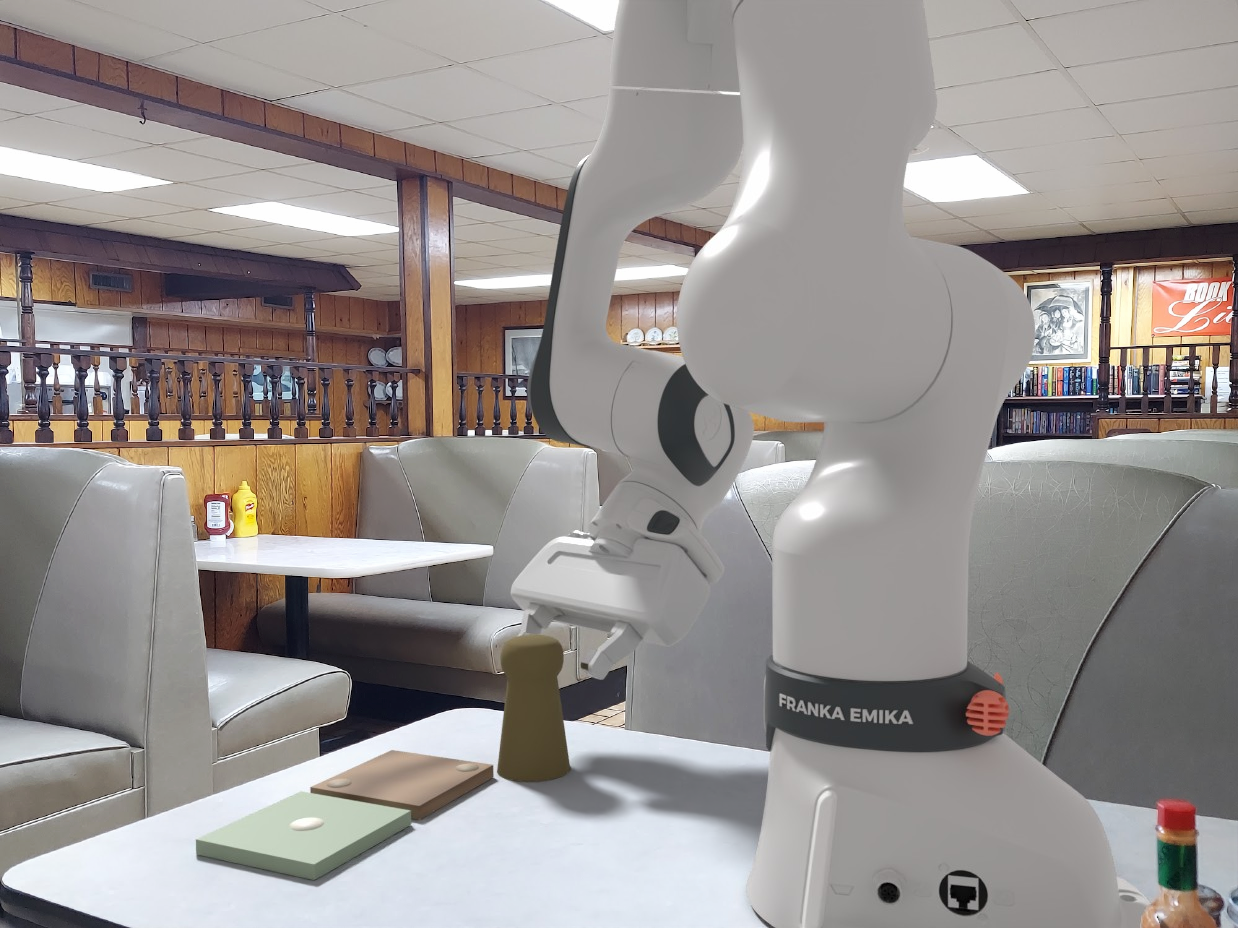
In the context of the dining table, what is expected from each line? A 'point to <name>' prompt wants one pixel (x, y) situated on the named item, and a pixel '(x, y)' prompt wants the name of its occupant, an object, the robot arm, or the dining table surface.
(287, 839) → the tile one
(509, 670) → the cork
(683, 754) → the dining table surface
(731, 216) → the robot arm
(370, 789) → the tile two
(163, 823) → the dining table surface
